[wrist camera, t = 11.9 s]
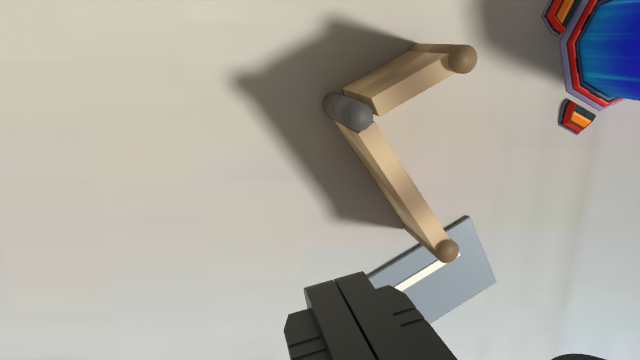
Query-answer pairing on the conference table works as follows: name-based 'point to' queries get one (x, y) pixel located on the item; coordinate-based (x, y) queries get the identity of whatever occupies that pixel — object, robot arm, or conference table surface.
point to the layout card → (440, 274)
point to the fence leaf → (389, 174)
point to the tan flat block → (410, 75)
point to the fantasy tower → (596, 54)
